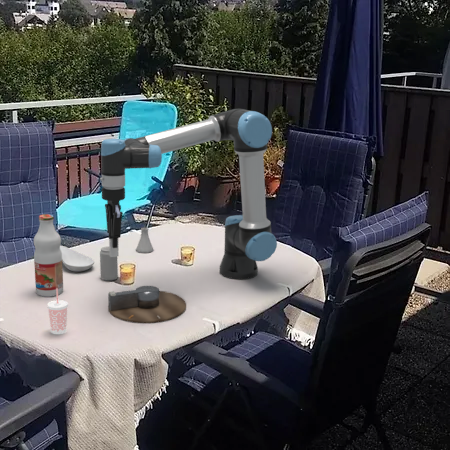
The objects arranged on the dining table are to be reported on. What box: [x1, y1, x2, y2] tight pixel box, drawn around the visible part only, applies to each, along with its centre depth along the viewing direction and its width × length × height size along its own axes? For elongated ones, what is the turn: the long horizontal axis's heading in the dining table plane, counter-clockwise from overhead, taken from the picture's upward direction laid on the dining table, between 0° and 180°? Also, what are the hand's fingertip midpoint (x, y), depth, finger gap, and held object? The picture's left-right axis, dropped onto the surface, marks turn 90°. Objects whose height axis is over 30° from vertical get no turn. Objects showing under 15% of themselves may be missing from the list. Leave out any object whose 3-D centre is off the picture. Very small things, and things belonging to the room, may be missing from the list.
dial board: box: [107, 290, 187, 324], centre depth 213 cm, size 26×26×1 cm
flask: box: [135, 227, 154, 254], centre depth 271 cm, size 7×7×10 cm
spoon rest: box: [60, 245, 95, 272], centre depth 250 cm, size 24×12×7 cm, turn 55°
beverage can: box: [99, 246, 119, 282], centre depth 236 cm, size 6×6×12 cm
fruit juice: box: [33, 213, 64, 297], centre depth 220 cm, size 9×9×28 cm
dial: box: [107, 285, 160, 310], centre depth 210 cm, size 17×8×6 cm, turn 115°
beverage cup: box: [46, 288, 69, 335], centre depth 192 cm, size 6×6×14 cm
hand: (113, 255), depth 211 cm, fingers closed
